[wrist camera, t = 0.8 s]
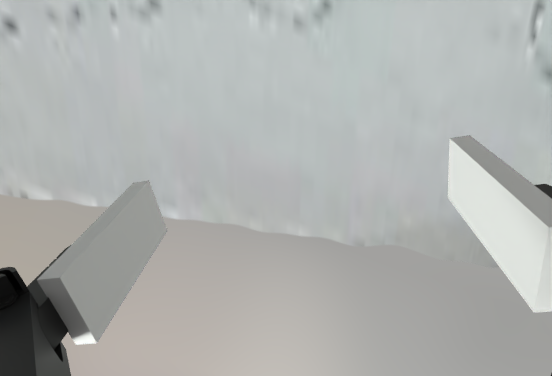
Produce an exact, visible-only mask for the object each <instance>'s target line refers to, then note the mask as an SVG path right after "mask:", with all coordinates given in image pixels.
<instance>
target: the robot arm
mask: <svg viewBox="0 0 552 376" xmlns="http://www.w3.org/2000/svg"><path fill="white" fill-rule="evenodd" d="M448 199H449V200H450V201H451V203H452V204H453V205H454V207H455V208H456V209H457V211H458V212H459V213H460V215H461V216H462V217H463V219H464V220H465V221H466V223H467V224H468V225H469V227H470V228H471V229H472V231H473V232H474V233H475V235H476V236H477V237H478V238H479V240H480V241H481V242H482V244H483V245H484V246H485V248H486V249H487V250H488V252H489V253H490V254H491V256H492V257H493V258H494V260H495V261H496V262H497V264H498V265H499V266H500V268H501V269H502V270H503V272H504V273H505V274H506V276H507V277H508V278H509V280H510V281H511V282H512V284H513V285H514V286H515V288H516V289H517V290H518V292H519V293H520V294H521V296H522V297H523V298H524V300H525V301H526V302H527V304H528V305H529V306H530V308H531V309H532V310H533V312H534V313H535V312H548V311H552V186H549V185H547V184H540V185H533V184H532V183H531V182H529V181H528V180H527V179H526V178H524V177H523V176H522V175H520V174H519V173H518V172H517V171H515V170H514V169H513V168H511V167H510V166H509V165H507V164H506V163H505V162H504V161H502V160H501V159H500V158H498V157H497V156H496V155H495V154H493V153H492V152H491V151H489V150H488V149H487V148H485V147H484V146H483V145H482V144H480V143H479V142H478V141H476V140H475V139H474V138H472V137H471V136H470V135H469V136H462V137H455V138H450V144H449V177H448ZM166 232H167V228H166V225H165V223H164V220H163V217H162V215H161V212H160V209H159V207H158V204H157V201H156V198H155V196H154V193H153V190H152V188H151V185H150V182H149V181H143V182H136V183H133V184H132V185H131V186H130V187H129V188H128V189H127V190H126V191H125V192H124V193H123V194H122V195H121V196H120V197H119V198H118V199H117V200H116V201H115V202H114V203H113V204H112V205H111V206H110V207H109V208H108V209H107V210H106V211H105V212H104V213H103V214H102V215H101V216H100V217H99V218H98V219H97V220H96V221H95V222H94V223H93V224H92V225H91V226H90V227H89V228H88V229H87V230H86V231H85V232H84V233H83V234H82V235H81V236H80V237H79V238H78V239H77V240H76V241H75V242H74V243H73V244H72V245H70V246H69V247H67V248H66V249H65V250H64V251H63V252H62V253H61V254H60V255H59V256H58V257H57V259H55V260H54V261H53V262H52V263H51V264H50V265H49V267H47V268H46V269H45V270H44V271H43V272H42V273H41V274H40V275H39V276H38V277H37V278H36V279H35V280H34V281H32V283H30V285H28V287H26V285H25V283H24V282H23V280H22V278H21V277H20V275H19V274H18V272H17V271H16V269H15V268H13V267H7V268H1V269H0V376H71V374H70V368H69V363H68V358H67V353H66V349H65V347H64V346H63V344H62V343H61V340H62V339H63V337H64V336H65V335H66V334H67V332H69V334H70V336H71V337H72V339H73V341H74V342H75V344H76V345H78V344H93V343H97V342H98V341H99V339H100V337H101V336H102V334H103V333H104V331H105V329H106V328H107V326H108V325H109V323H110V321H111V320H112V318H113V317H114V315H115V313H116V312H117V310H118V309H119V307H120V306H121V304H122V302H123V301H124V299H125V298H126V296H127V294H128V293H129V291H130V290H131V288H132V286H133V285H134V283H135V282H136V280H137V278H138V277H139V275H140V273H141V272H142V271H143V269H144V267H145V266H146V264H147V263H148V261H149V259H150V258H151V256H152V255H153V253H154V251H155V250H156V248H157V247H158V245H159V243H160V242H161V240H162V239H163V237H164V235H165V234H166ZM551 376H552V374H551Z"/></svg>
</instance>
